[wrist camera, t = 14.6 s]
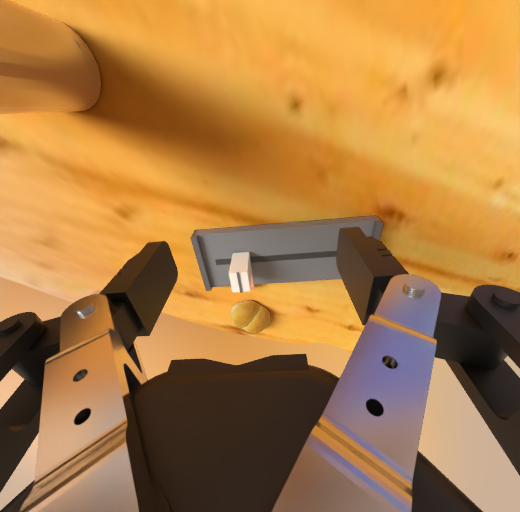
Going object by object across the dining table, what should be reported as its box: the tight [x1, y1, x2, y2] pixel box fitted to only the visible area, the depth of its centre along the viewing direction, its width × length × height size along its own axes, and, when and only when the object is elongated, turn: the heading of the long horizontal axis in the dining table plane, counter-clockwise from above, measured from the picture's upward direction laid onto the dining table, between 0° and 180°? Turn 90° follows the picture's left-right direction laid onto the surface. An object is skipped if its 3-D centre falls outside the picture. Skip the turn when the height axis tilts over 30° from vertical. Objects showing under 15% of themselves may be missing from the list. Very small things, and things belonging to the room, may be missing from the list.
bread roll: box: [231, 300, 271, 333], centre depth 52 cm, size 8×9×4 cm
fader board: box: [191, 215, 383, 291], centre depth 43 cm, size 32×13×3 cm, turn 95°
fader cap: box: [229, 252, 252, 293], centre depth 40 cm, size 3×4×6 cm
